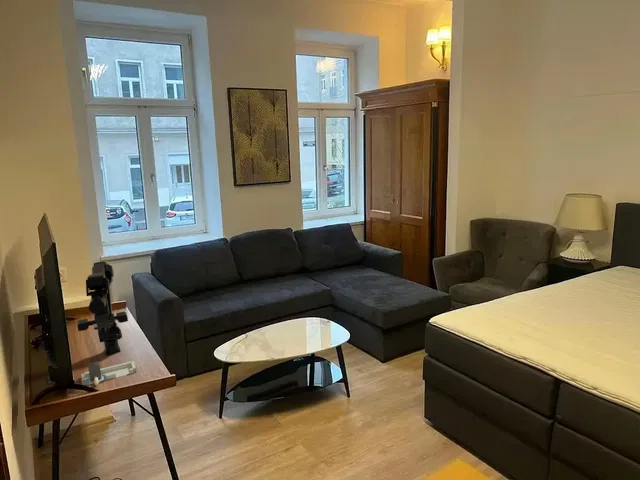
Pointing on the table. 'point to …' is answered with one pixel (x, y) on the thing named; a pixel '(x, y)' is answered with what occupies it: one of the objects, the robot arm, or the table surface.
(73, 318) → the table surface
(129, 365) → the long open trough
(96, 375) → the cord plug
